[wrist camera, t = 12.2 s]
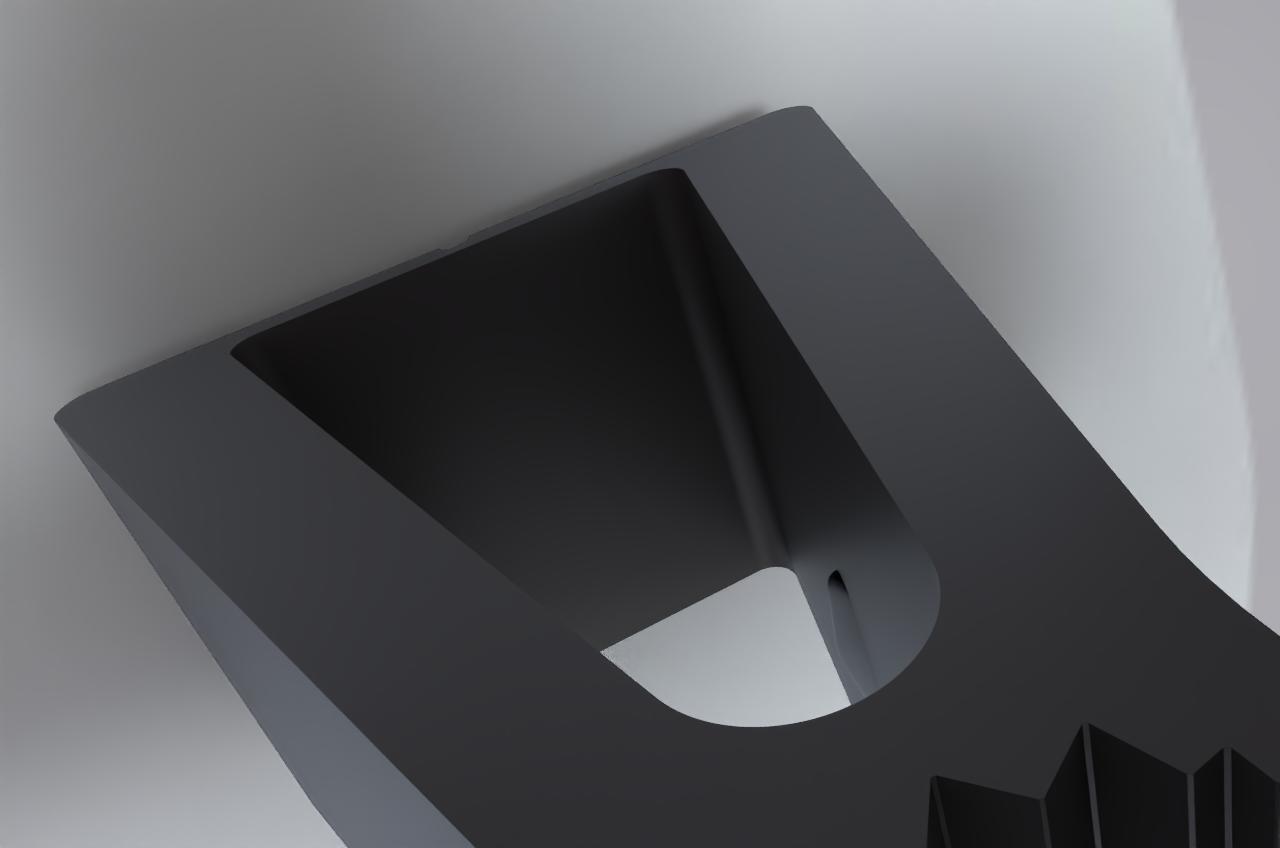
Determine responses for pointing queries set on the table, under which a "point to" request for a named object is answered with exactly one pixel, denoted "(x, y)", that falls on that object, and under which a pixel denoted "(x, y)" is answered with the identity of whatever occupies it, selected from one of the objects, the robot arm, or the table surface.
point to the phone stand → (685, 537)
